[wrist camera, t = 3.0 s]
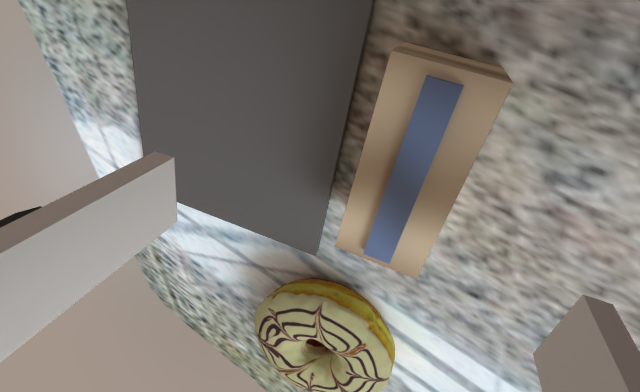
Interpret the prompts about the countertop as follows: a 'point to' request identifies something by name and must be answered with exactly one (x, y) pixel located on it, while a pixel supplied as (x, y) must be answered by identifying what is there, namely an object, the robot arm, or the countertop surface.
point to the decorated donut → (325, 338)
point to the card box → (418, 153)
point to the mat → (250, 104)
